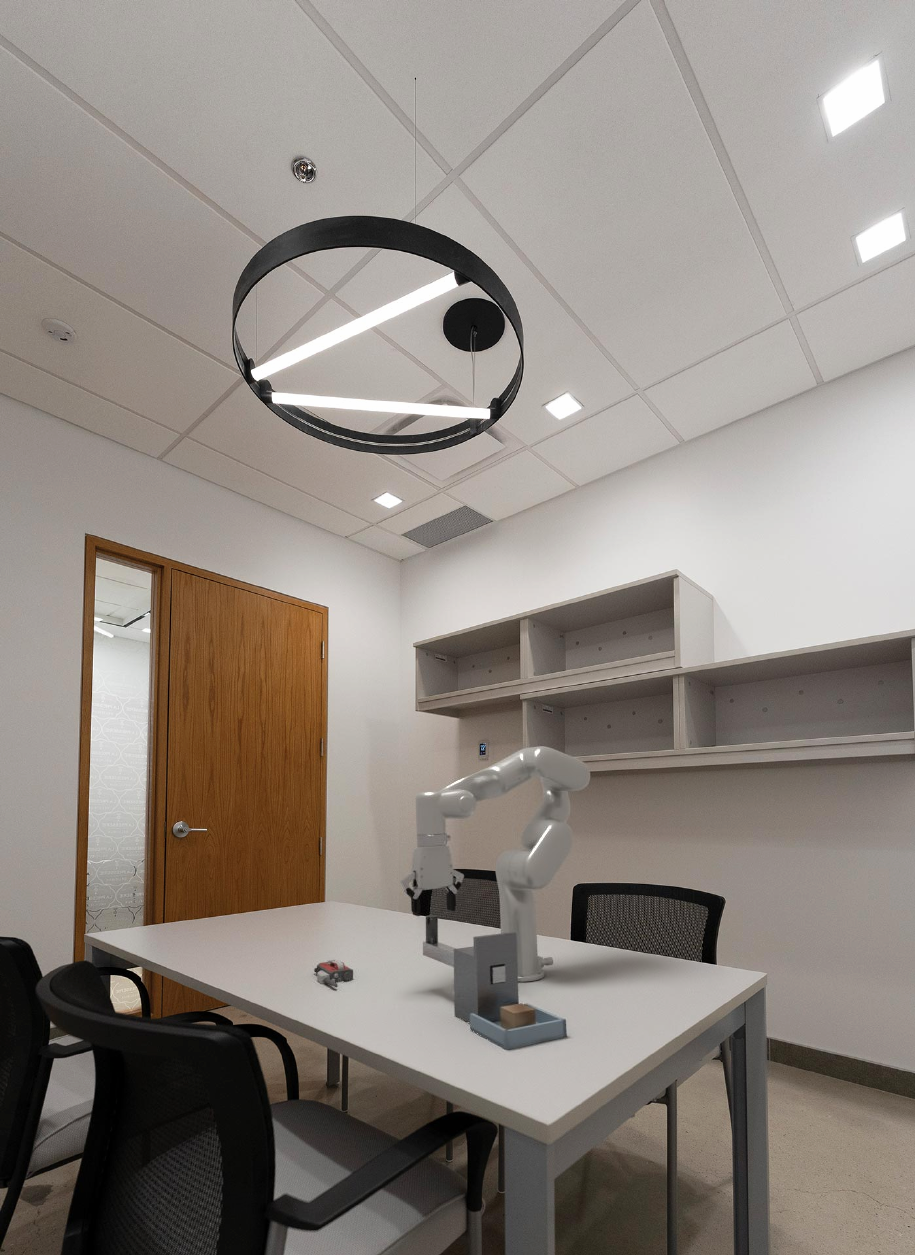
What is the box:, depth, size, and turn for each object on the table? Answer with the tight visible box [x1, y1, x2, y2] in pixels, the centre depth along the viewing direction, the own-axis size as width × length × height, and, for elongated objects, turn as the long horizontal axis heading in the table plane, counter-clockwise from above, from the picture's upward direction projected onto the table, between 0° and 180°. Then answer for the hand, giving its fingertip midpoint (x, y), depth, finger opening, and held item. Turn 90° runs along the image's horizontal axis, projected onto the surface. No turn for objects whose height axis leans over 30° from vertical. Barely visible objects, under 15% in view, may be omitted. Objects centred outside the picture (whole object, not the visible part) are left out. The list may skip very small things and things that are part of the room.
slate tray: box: [469, 1003, 568, 1050], centre depth 141 cm, size 14×13×3 cm
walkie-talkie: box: [313, 959, 354, 988], centre depth 185 cm, size 9×4×20 cm
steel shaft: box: [422, 915, 505, 984], centre depth 163 cm, size 3×33×9 cm, turn 29°
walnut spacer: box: [500, 1002, 536, 1030], centre depth 141 cm, size 5×5×4 cm
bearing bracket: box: [453, 932, 520, 1024], centre depth 152 cm, size 10×10×17 cm
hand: (434, 912), depth 177 cm, fingers open, 9 cm apart
